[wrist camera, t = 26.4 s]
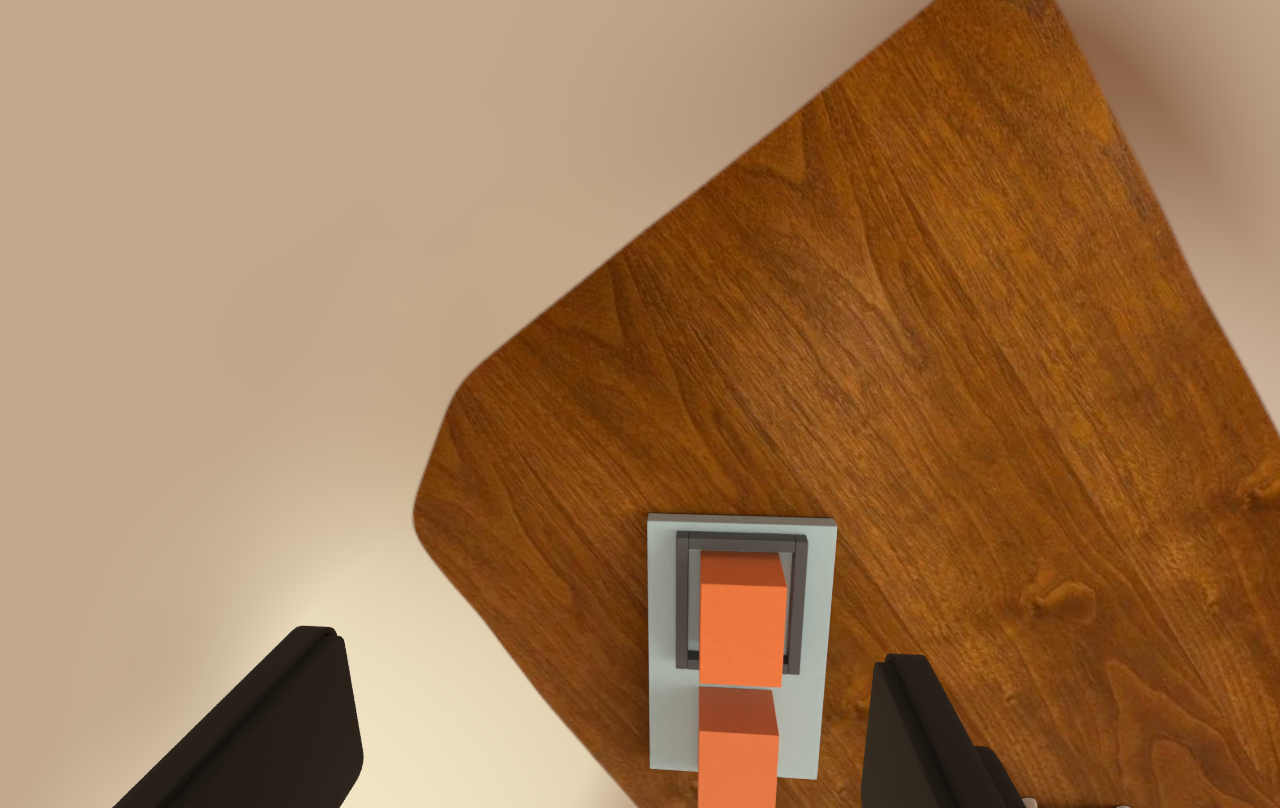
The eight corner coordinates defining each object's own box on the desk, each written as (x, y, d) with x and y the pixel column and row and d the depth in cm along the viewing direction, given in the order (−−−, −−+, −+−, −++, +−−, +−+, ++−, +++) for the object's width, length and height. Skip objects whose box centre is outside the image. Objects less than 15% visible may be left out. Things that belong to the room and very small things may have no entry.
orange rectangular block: (699, 642, 42) (699, 683, 38) (700, 549, 40) (700, 583, 36) (773, 645, 41) (781, 688, 37) (778, 552, 39) (787, 587, 35)
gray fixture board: (651, 755, 46) (645, 819, 41) (648, 512, 41) (641, 552, 36) (814, 766, 45) (828, 832, 40) (833, 518, 39) (853, 559, 34)
